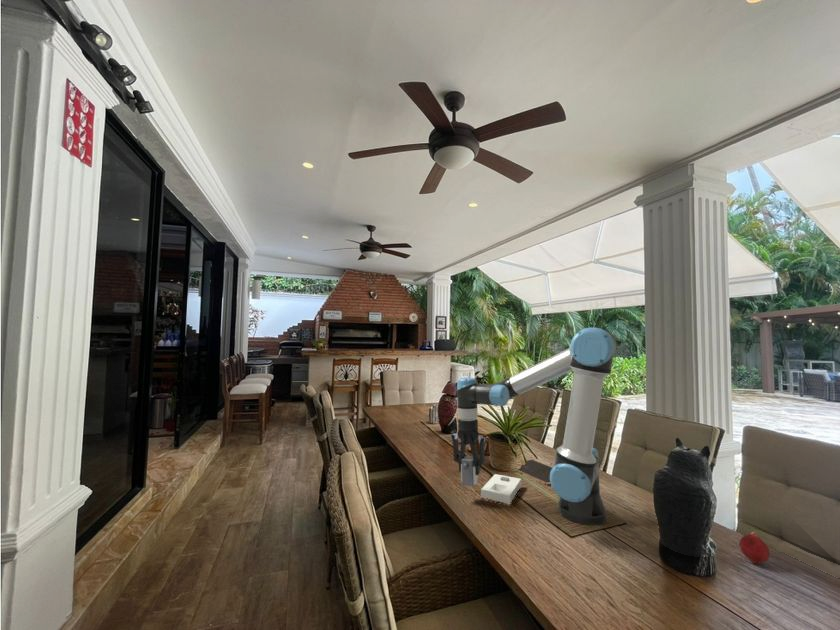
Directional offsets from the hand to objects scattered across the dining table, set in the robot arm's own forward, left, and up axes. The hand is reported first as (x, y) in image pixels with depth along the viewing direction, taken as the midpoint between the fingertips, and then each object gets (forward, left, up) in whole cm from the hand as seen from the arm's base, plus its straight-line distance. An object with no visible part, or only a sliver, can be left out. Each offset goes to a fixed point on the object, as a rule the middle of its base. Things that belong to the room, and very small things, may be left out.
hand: (469, 482), depth 130 cm
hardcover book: (-17, -42, -8) cm, 46 cm away
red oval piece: (-81, -3, -7) cm, 81 cm away
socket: (-8, -13, -7) cm, 17 cm away
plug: (0, 0, 0) cm, 0 cm away
